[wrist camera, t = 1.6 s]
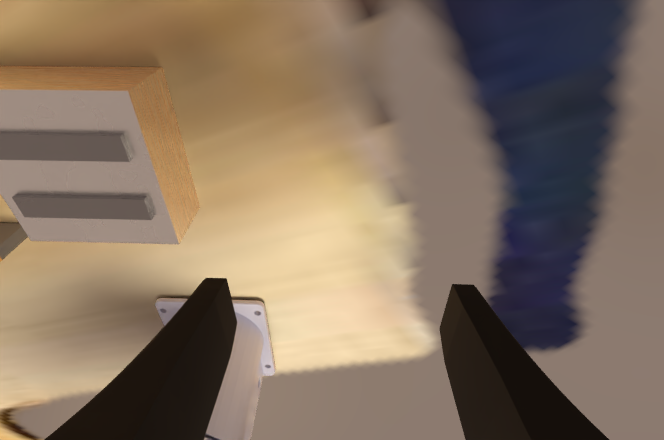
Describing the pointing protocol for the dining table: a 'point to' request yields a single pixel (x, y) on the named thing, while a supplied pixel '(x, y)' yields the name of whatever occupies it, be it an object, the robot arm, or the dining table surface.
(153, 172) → the block with grey stripes
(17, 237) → the bay
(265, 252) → the dining table surface
